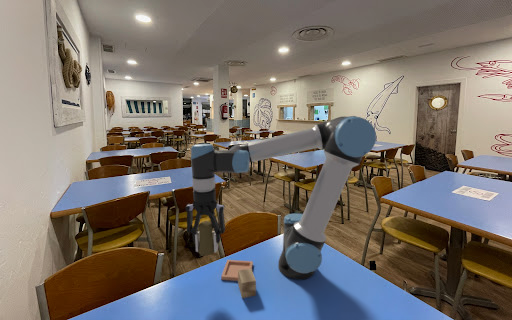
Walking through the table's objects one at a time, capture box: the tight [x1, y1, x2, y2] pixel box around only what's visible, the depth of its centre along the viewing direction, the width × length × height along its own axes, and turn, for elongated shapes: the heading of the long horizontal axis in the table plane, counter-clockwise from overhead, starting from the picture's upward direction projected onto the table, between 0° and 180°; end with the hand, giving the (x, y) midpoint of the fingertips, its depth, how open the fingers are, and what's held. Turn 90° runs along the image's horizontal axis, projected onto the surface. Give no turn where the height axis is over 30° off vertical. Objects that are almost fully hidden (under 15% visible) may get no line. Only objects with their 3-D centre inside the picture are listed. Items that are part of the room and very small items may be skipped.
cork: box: [198, 220, 215, 257], centre depth 86 cm, size 6×6×11 cm
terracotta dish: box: [220, 259, 254, 282], centre depth 98 cm, size 11×11×1 cm
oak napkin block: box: [237, 268, 257, 299], centre depth 87 cm, size 5×7×6 cm
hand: (207, 250), depth 87 cm, fingers closed on cork, 6 cm apart
